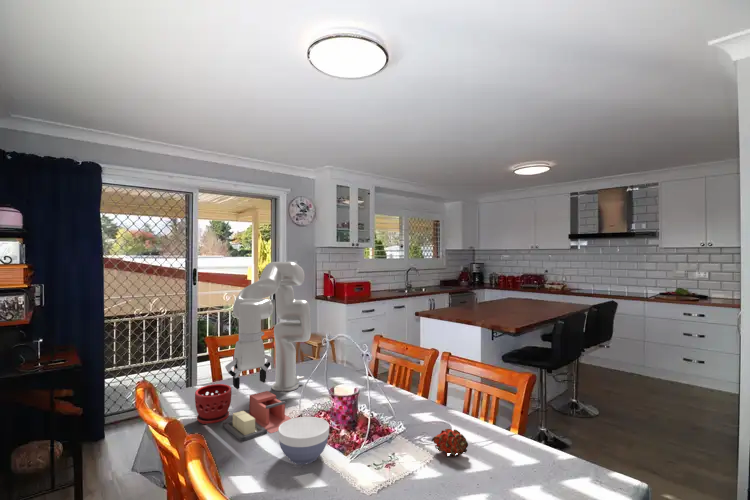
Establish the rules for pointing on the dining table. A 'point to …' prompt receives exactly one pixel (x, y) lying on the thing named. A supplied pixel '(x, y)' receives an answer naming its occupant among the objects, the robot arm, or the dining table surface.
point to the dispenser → (267, 410)
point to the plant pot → (213, 403)
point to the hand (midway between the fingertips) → (249, 384)
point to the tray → (246, 437)
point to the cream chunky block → (243, 422)
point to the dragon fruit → (450, 442)
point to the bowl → (303, 438)
